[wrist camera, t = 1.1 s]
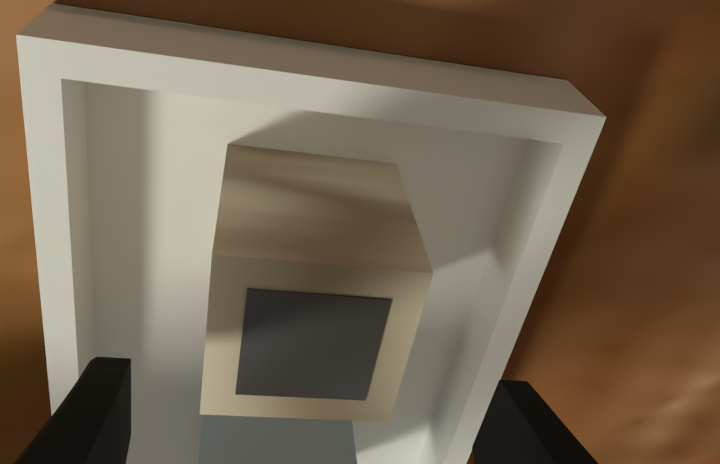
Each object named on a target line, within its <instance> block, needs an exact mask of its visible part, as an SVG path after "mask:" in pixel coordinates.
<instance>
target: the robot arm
mask: <svg viewBox="0 0 720 464" xmlns="http://www.w3.org/2000/svg"><path fill="white" fill-rule="evenodd" d="M130 438H131V359H130V358H113V357H95V358H93V359H92V360H90V362H89V363H88V365H87V366H86V368H85V370H84V371H83V373H82V374H81V376H80V377H79V379H78V380H77V382H76V383H75V385H74V386H73V388H72V389H71V391H70V392H69V393H68V395H67V396H66V398H65V399H64V400H63V402H62V403H61V404H60V406H59V407H58V408H57V410H56V411H55V413H54V414H53V415H52V417H51V418H50V419H49V420H48V422H47V423H46V424H45V425H44V427H43V428H42V429H41V430H40V432H39V433H38V434H37V435H36V437H35V438H34V439H33V440H32V442H31V443H30V444H29V445H28V447H27V448H26V449H25V450H24V452H23V453H22V454H21V455H20V456H19V457H18V459H17V460H16V461H15V462H14V463H13V464H126V460H127V454H128V449H129V443H130ZM472 449H473V456H474V462H475V464H598V463H597V462H596V460H595V459H594V458H593V457H592V456H591V455H590V454H589V453H588V451H587V450H586V449H585V448H584V447H583V446H582V445H581V443H580V442H579V441H578V440H577V439H576V438H575V437H574V435H573V434H572V433H571V432H570V431H569V430H568V428H567V427H566V426H565V425H564V424H563V423H562V421H561V420H560V419H559V418H558V417H557V415H556V414H555V413H554V412H553V411H552V410H551V408H550V407H549V406H548V405H547V404H546V402H545V401H544V400H543V399H542V398H541V397H540V395H539V394H538V393H537V392H536V391H535V390H534V389H533V387H532V386H531V385H530V384H529V383H528V382H527V381H510V380H499V382H498V384H497V387H496V389H495V392H494V394H493V397H492V399H491V402H490V404H489V406H488V409H487V411H486V414H485V416H484V419H483V421H482V424H481V426H480V429H479V431H478V434H477V436H476V438H475V441H474V443H473V446H472Z"/></svg>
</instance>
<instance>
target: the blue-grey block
mask: <svg viewBox="0 0 720 464" xmlns="http://www.w3.org/2000/svg"><path fill="white" fill-rule="evenodd" d="M198 464H357V458H356V450H355V441H354V433H353V425H352V421H348V420H324V419H299V418H275V417H251V416H227V415H203V423H202V431H201V440H200V448H199V457H198Z"/></svg>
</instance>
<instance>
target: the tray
mask: <svg viewBox="0 0 720 464" xmlns="http://www.w3.org/2000/svg"><path fill="white" fill-rule="evenodd" d="M16 39H17V50H18V61H19V72H20V82H21V93H22V104H23V115H24V125H25V136H26V147H27V158H28V168H29V179H30V190H31V201H32V211H33V222H34V233H35V244H36V254H37V265H38V276H39V287H40V297H41V308H42V319H43V330H44V340H45V351H46V362H47V373H48V384H49V394H50V405H51V416H52V415H53V414H54V413H55V411H56V410H57V408H58V407H59V406H60V404H61V403H62V402H63V400H64V399H65V398H66V396H67V395H68V393H69V392H70V391H71V389H72V388H73V386H74V385H75V383H76V382H77V380H78V379H79V377H80V376H81V374H82V373H83V371H84V370H85V368H86V366H87V365H88V363H89V362H90V360H92V359H93V358H95V357H113V358H130V359H131V438H130V443H129V449H128V454H127V460H126V464H198V457H199V448H200V440H201V431H202V423H203V414H200V403H201V390H202V377H203V364H204V351H205V338H206V325H207V311H208V298H209V285H210V272H211V259H212V250H213V243H214V236H215V229H216V222H217V215H218V208H219V201H220V193H221V186H222V179H223V172H224V165H225V158H226V151H227V144H234V145H242V146H251V147H259V148H268V149H276V150H285V151H293V152H302V153H310V154H319V155H328V156H336V157H345V158H353V159H362V160H370V161H379V162H387V163H396V164H397V167H398V170H399V173H400V176H401V179H402V181H403V184H404V187H405V190H406V193H407V196H408V199H409V202H410V205H411V208H412V211H413V214H414V217H415V220H416V223H417V226H418V229H419V232H420V235H421V238H422V241H423V244H424V247H425V250H426V253H427V256H428V258H429V261H430V264H431V267H432V270H433V277H432V280H431V284H430V287H429V290H428V294H427V297H426V300H425V304H424V307H423V311H422V314H421V317H420V321H419V324H418V327H417V331H416V334H415V338H414V341H413V344H412V348H411V351H410V354H409V358H408V361H407V365H406V368H405V371H404V375H403V378H402V381H401V385H400V388H399V392H398V395H397V398H396V402H395V405H394V408H393V412H392V415H391V419H390V422H372V421H352V425H353V433H354V441H355V450H356V458H357V464H467V461H468V459H469V456H470V454H471V451H472V446H473V443H474V441H475V438H476V436H477V434H478V431H479V429H480V426H481V424H482V421H483V419H484V416H485V414H486V411H487V409H488V406H489V404H490V402H491V399H492V397H493V394H494V392H495V389H496V387H497V384H498V382H499V380H500V379H501V377H502V375H503V372H504V370H505V367H506V365H507V362H508V360H509V357H510V355H511V352H512V350H513V347H514V345H515V342H516V340H517V337H518V335H519V333H520V330H521V328H522V325H523V323H524V320H525V318H526V315H527V313H528V310H529V308H530V305H531V303H532V300H533V298H534V295H535V293H536V291H537V288H538V286H539V283H540V281H541V278H542V276H543V273H544V271H545V268H546V266H547V263H548V261H549V258H550V256H551V253H552V251H553V249H554V246H555V244H556V241H557V239H558V236H559V234H560V231H561V229H562V226H563V224H564V221H565V219H566V216H567V214H568V211H569V209H570V207H571V204H572V202H573V199H574V197H575V194H576V192H577V189H578V187H579V184H580V182H581V179H582V177H583V174H584V172H585V169H586V167H587V165H588V162H589V160H590V157H591V155H592V152H593V150H594V147H595V145H596V142H597V140H598V137H599V135H600V132H601V130H602V127H603V125H604V122H605V120H606V118H607V117H606V116H605V115H604V114H603V113H602V112H601V111H600V110H598V109H597V108H596V107H595V106H594V105H593V104H592V103H591V102H590V101H589V100H588V99H587V98H586V97H585V96H584V95H583V94H581V93H580V92H579V91H578V90H577V89H576V88H575V87H574V86H573V85H572V84H571V83H570V82H569V81H568V80H562V79H555V78H549V77H542V76H535V75H528V74H522V73H515V72H508V71H502V70H495V69H488V68H482V67H475V66H468V65H462V64H455V63H448V62H441V61H435V60H428V59H421V58H415V57H408V56H401V55H395V54H388V53H381V52H375V51H368V50H361V49H355V48H348V47H341V46H334V45H328V44H321V43H314V42H308V41H301V40H294V39H288V38H281V37H274V36H268V35H261V34H254V33H248V32H241V31H234V30H227V29H221V28H214V27H207V26H201V25H194V24H187V23H181V22H174V21H167V20H161V19H154V18H147V17H141V16H134V15H127V14H120V13H114V12H107V11H100V10H94V9H87V8H80V7H74V6H67V5H60V4H54V3H51V4H50V5H49V6H48V7H47V8H46V9H45V10H43V11H42V12H41V13H40V14H39V15H38V16H37V17H35V18H34V19H33V20H32V21H31V22H30V23H29V24H28V25H26V26H25V27H24V28H23V29H22V30H21V31H20V32H18V33H17V34H16Z"/></svg>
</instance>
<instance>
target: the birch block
mask: <svg viewBox="0 0 720 464" xmlns="http://www.w3.org/2000/svg"><path fill="white" fill-rule="evenodd" d="M432 277H433V270H432V267H431V264H430V261H429V258H428V256H427V253H426V250H425V247H424V244H423V241H422V238H421V235H420V232H419V229H418V226H417V223H416V220H415V217H414V214H413V211H412V208H411V205H410V202H409V199H408V196H407V193H406V190H405V187H404V184H403V181H402V179H401V176H400V173H399V170H398V167H397V164H396V163H387V162H379V161H370V160H362V159H353V158H345V157H336V156H328V155H319V154H310V153H302V152H293V151H285V150H276V149H268V148H259V147H251V146H242V145H234V144H227V151H226V158H225V165H224V172H223V179H222V186H221V193H220V201H219V208H218V215H217V222H216V229H215V236H214V243H213V250H212V259H211V272H210V285H209V298H208V311H207V325H206V338H205V351H204V364H203V377H202V390H201V403H200V414H203V415H227V416H251V417H275V418H299V419H324V420H348V421H372V422H390V419H391V415H392V412H393V408H394V405H395V402H396V398H397V395H398V392H399V388H400V385H401V381H402V378H403V375H404V371H405V368H406V365H407V361H408V358H409V354H410V351H411V348H412V344H413V341H414V338H415V334H416V331H417V327H418V324H419V321H420V317H421V314H422V311H423V307H424V304H425V300H426V297H427V294H428V290H429V287H430V284H431V280H432Z"/></svg>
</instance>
